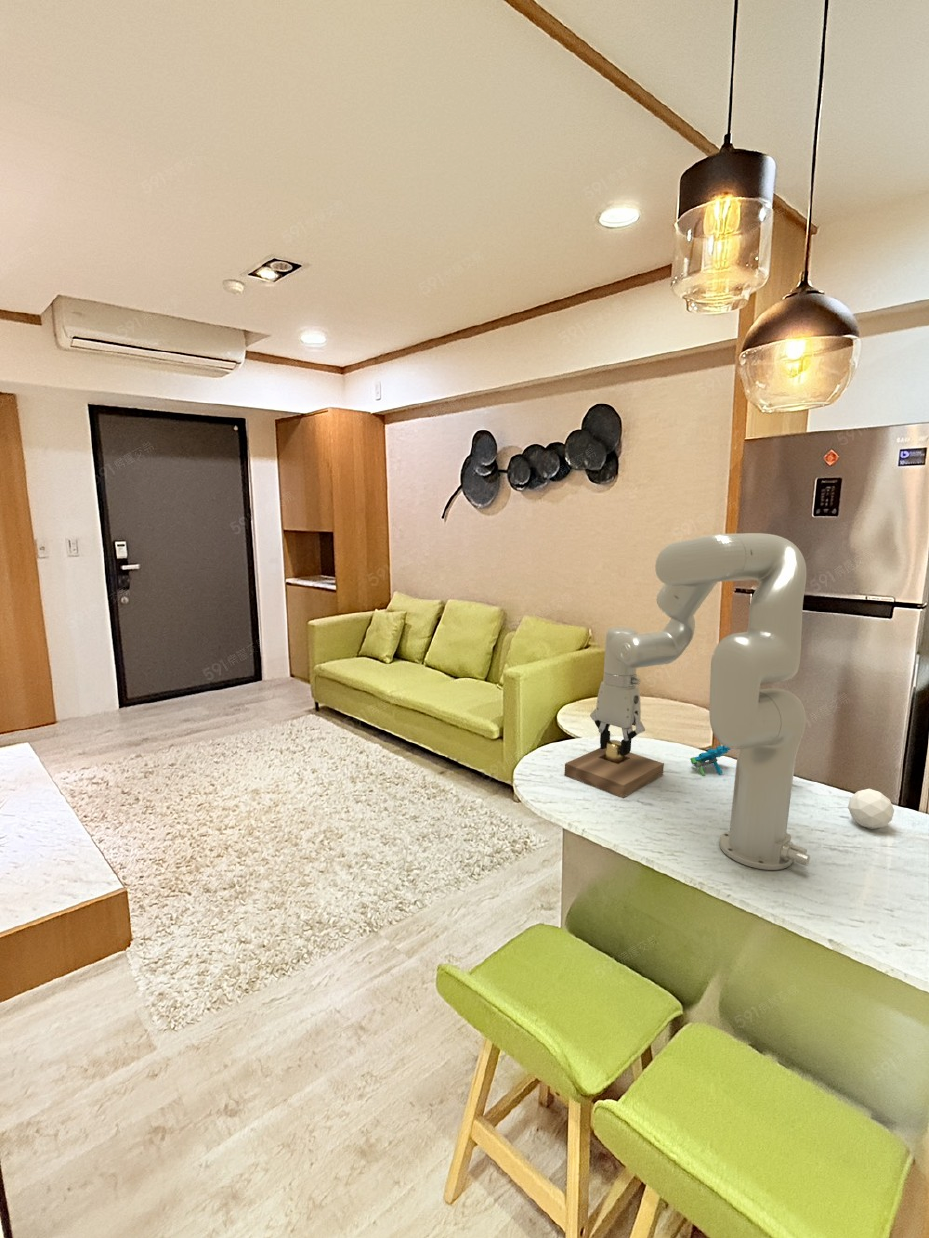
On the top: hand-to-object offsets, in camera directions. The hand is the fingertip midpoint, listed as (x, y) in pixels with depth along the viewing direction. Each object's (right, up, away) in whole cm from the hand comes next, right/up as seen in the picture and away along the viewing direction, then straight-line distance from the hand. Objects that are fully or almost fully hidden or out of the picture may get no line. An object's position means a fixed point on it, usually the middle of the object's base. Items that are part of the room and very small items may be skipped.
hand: (614, 750), depth 153 cm
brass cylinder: (0, -5, +1) cm, 5 cm away
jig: (-1, -5, -3) cm, 6 cm away
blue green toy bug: (+24, -5, +2) cm, 24 cm away
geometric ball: (+46, -11, -24) cm, 53 cm away
